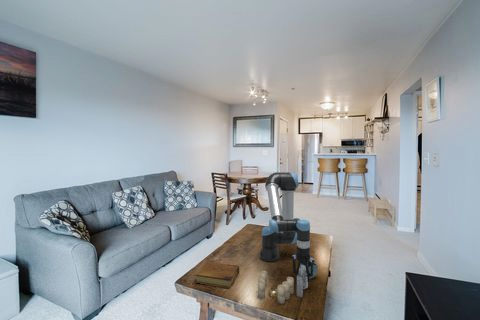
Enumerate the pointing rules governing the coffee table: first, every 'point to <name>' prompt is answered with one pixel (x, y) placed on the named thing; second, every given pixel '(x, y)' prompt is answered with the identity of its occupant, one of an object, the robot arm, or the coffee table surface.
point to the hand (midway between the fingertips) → (302, 285)
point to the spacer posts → (282, 290)
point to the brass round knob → (273, 292)
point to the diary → (217, 274)
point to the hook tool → (301, 280)
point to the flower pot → (313, 268)
